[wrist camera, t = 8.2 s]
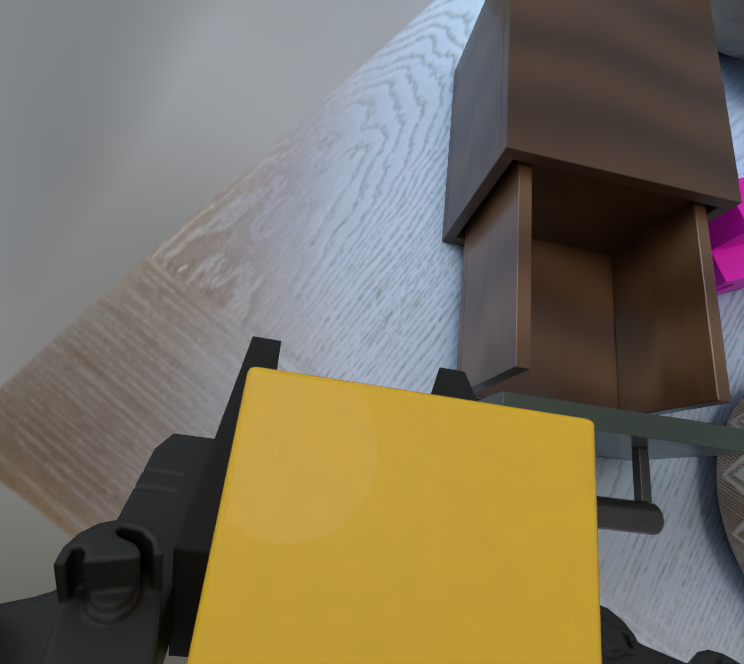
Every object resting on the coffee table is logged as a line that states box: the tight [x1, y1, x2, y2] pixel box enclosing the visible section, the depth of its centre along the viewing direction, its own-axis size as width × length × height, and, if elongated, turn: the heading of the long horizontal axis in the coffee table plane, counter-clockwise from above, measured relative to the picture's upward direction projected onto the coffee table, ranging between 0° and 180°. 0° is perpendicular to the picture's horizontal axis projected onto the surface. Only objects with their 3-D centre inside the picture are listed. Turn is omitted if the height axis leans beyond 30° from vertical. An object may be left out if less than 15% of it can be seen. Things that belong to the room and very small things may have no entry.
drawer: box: [457, 159, 744, 535], centre depth 28 cm, size 20×13×9 cm
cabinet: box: [442, 0, 742, 245], centre depth 34 cm, size 17×15×11 cm
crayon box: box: [187, 367, 602, 664], centre depth 10 cm, size 4×5×11 cm
